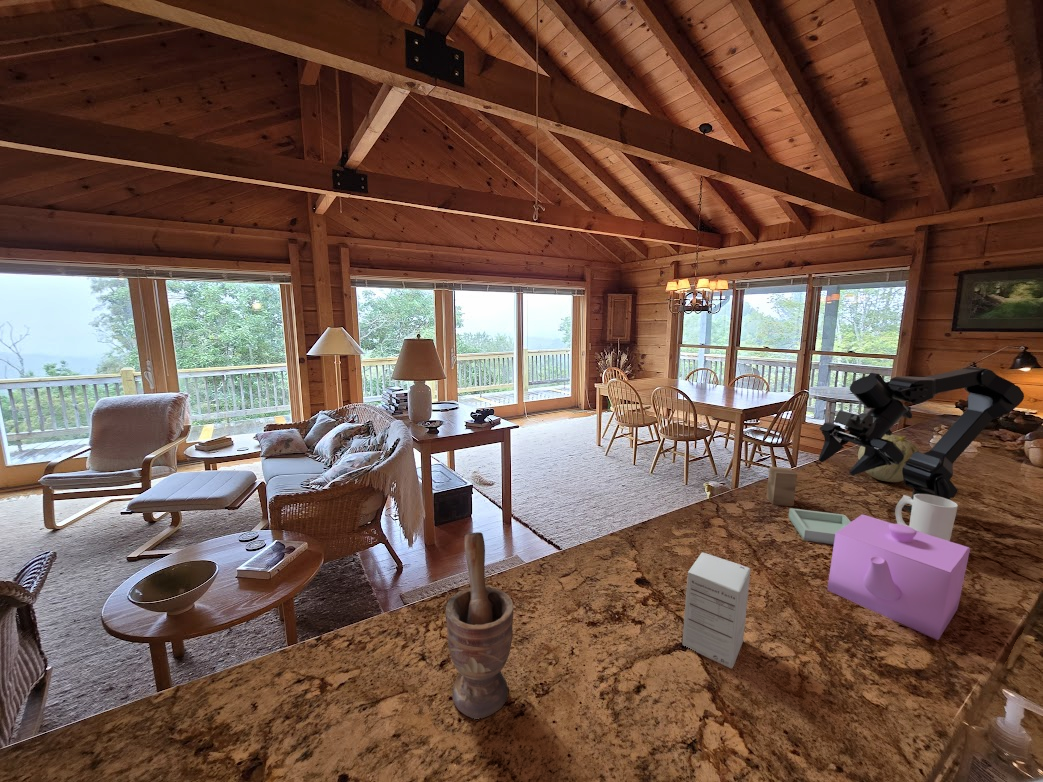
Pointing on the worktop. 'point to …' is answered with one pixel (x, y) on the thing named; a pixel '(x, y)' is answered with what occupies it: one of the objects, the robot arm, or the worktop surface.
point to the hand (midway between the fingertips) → (834, 467)
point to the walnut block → (781, 486)
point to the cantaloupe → (892, 471)
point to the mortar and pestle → (479, 637)
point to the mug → (929, 514)
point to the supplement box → (716, 608)
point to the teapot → (899, 573)
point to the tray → (817, 524)
